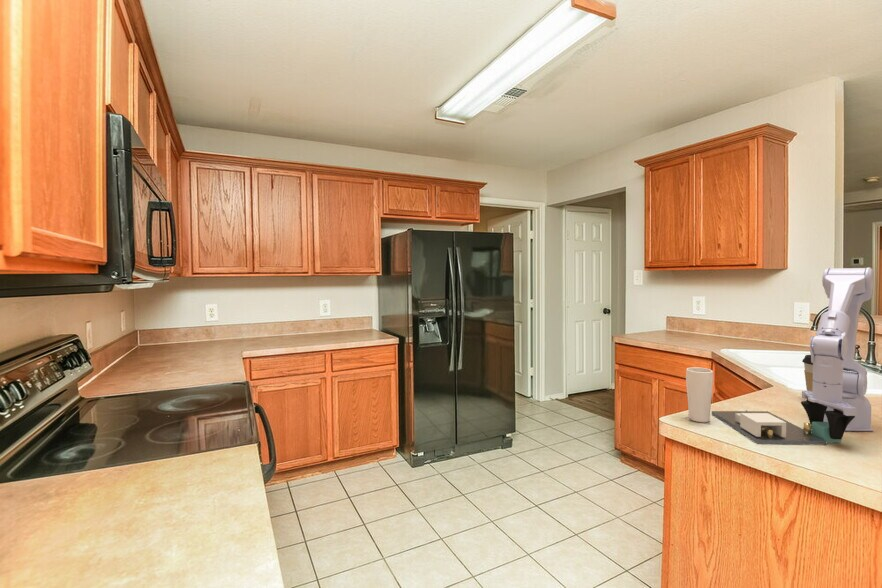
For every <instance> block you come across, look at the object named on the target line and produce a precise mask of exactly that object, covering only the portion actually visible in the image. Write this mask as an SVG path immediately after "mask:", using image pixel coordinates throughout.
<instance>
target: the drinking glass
mask: <svg viewBox="0 0 882 588" xmlns="http://www.w3.org/2000/svg"><path fill="white" fill-rule="evenodd" d="M685 371H686V372H685V385H686V395H687V396H686V397H687V408H688V409H687V410H688V419H689V420H691V421H693V422H696V423H702V424H703V423H704V424H705V423H709V422H710V420H711V407H712V397H713V388H714V371H713V370H712V369H709V368H706V367H698V366H697V367H696V366H694V367H687V368H686V369H685Z"/></svg>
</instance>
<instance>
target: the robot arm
mask: <svg viewBox="0 0 882 588" xmlns="http://www.w3.org/2000/svg"><path fill="white" fill-rule="evenodd" d="M821 278H822V279H821V281H822V287H823V290H824V293H825V295H826V296H827V299H829V300H828V301H829V302H828V308H827V309H828V310H827V311H825V312H823V313H821V315H820V318H819V319H820V320H819V322H818V326H817V329H816V334H815V335H812V336H811V338H810V342H809V352H810V355H811V363H813V387H812V391H807V390H801V398H802V399H805V400H801V402H800V404H801V405H802V407H803V409H804V410H805V413H806V415H807V418H808V423H810V424H812V422H828V423H829V432H830V437H831V439H841V440H842V439H843V436H844V433H845V432H846V431H847V432H852V431H853V432H873V431H874V428H872V427H871V426H872V424H871V423H872V405H871V402H870V400H869V399H868V398H867V397H866V396H865V395H866V394H867V389H868V371H867V368H866V367H864V366H863V365H862V364H860V363H859V362H857V360H855V353H856V346H857V345H856V343H857V337H858V335H857V334H858V326H859V318H860V310H861V307H862V305H863V303H864V302H868V301H869V300H871V299H872V296H873V295H874V294H873V293H874V285H875V284H874V283H875V271H874V269H873V268H872V267H868V266H867V267H853V268H852V267H851V268H849V267H848V268H847V267H845V268H844V267H843V268H841V267H840V268H839V267H837V268H830V267H827V268H825V269H824V270H823V271H822V277H821Z"/></svg>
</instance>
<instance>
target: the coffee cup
mask: <svg viewBox="0 0 882 588" xmlns="http://www.w3.org/2000/svg"><path fill="white" fill-rule="evenodd" d="M801 362H802V363H803V364H804V365H803V366H804V380H805V386H806V387H805V388H806V391H812V387H813V363H811V354H805V355H804V358H803V359H802V361H801Z"/></svg>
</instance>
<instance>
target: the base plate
mask: <svg viewBox="0 0 882 588" xmlns="http://www.w3.org/2000/svg"><path fill="white" fill-rule="evenodd" d="M735 413H769V414H771V415H772V416H774V417H776V418H778V419H780V420H782V421H784V422H786V437H781V436H779V435H777V434H775V433H774V432H773V429H767V428H765V425H761V437H756V436H755V435H753V434H751V433H750V432H748V431H746V430H745V429H743V428H742V427H740V423H739V422H737V421H736V420H735ZM711 415H712V416H713V417H715V418H717V419H718V420H720V421H721V422H723V423H724V424H725V425H728V426H729V427H731V428H732V429H734V430H736V431H737V432H739V433H740V434H741V435H742V436H745V437H746V438H747V439H750V440H751V441H752V442H754V443H756V444H757V445H803V444H826V445H827V443H826V440H824V439H822V438H820V437H818V436H816V435H814V434H812V424H810V422H803V428H802V427H799V426H798V425H796V424H793V423H792V422H790V421H787V419H786V420H785V419H784V418H782V417H780V416H778V415H776V414H774V413H772V412H770V411H768V410H767V411H764V410H763V411H761V410H760V411H759V410H757V411H755V410H754V411H753V410H751V411H750V410H748V411H747V410H745V411H744V410H742V411H741V410H739V411H738V410H735V411H734V410H733V411H732V410H712V411H711Z"/></svg>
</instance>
